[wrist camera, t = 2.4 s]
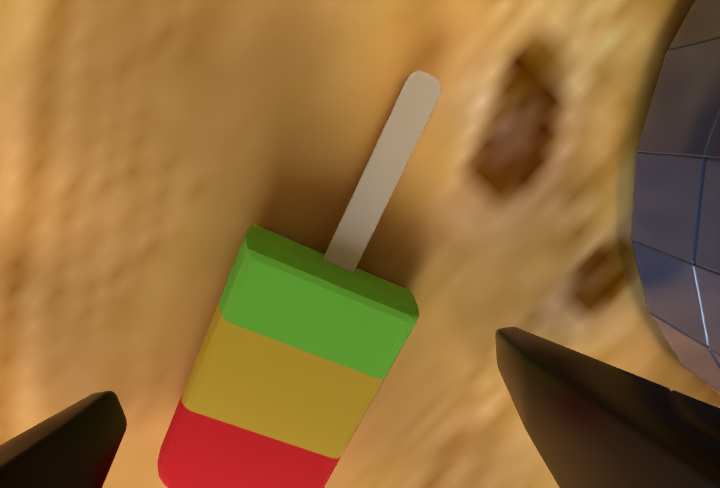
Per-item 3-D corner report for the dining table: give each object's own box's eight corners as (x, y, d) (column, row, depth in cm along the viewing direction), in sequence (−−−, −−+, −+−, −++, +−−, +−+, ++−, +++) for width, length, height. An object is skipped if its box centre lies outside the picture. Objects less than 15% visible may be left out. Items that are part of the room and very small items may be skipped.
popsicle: (166, 445, 14) (139, 493, 12) (332, 32, 10) (330, 11, 8) (306, 489, 15) (301, 540, 13) (504, 122, 11) (535, 121, 9)
